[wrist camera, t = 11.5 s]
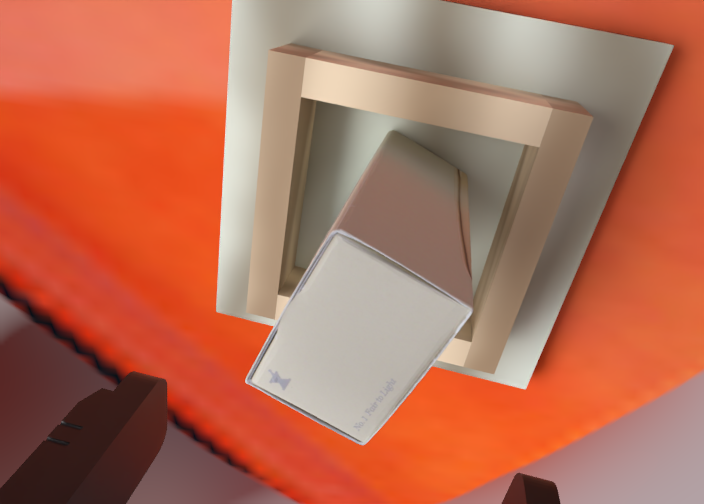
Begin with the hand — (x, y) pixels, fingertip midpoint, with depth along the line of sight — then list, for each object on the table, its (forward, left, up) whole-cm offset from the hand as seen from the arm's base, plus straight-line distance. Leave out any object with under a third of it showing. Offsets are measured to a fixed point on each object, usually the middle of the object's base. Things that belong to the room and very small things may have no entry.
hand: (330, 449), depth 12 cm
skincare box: (0, 0, -16) cm, 16 cm away
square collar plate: (0, 0, -17) cm, 17 cm away
